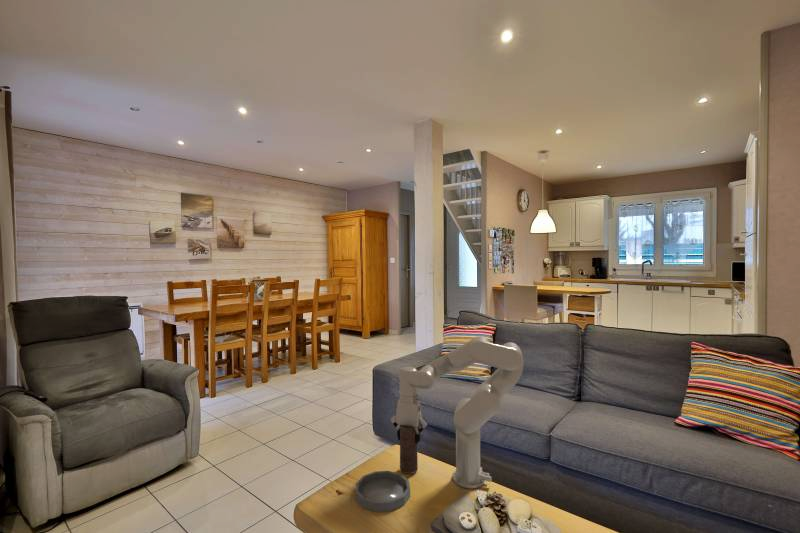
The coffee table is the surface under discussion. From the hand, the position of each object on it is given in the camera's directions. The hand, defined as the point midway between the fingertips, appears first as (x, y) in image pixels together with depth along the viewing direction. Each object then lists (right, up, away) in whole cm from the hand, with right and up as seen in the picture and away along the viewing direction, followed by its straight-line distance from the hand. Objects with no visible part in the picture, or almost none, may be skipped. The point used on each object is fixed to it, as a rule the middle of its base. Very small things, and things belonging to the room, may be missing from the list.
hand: (408, 440), depth 150 cm
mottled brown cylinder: (0, -13, 0) cm, 13 cm away
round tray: (-10, -13, -15) cm, 22 cm away
